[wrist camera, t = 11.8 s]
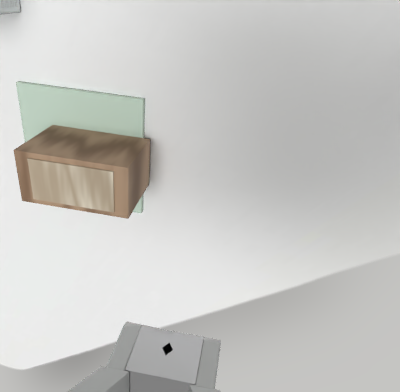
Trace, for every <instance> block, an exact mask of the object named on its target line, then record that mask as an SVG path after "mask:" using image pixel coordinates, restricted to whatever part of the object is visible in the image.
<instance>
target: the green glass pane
mask: <svg viewBox="0 0 400 392" xmlns="http://www.w3.org/2000/svg"><path fill="white" fill-rule="evenodd" d="M16 86H17V92H18V99H19V105H20V112H21V119H22V125H23V132H24V139H25V142H27V141H28V140H30V139H32V138H33V137H35V136H36V135H38V134H39V133H41V132H42V131H44V130H45V129H47V128H48V127H50V126H51V125H58V126H64V127H71V128H78V129H85V130H91V131H98V132H105V133H112V134H118V135H125V136H132V137H139V138H144V104H145V98H137V97H130V96H123V95H115V94H108V93H101V92H93V91H86V90H79V89H72V88H64V87H57V86H50V85H42V84H35V83H28V82H21V81H18V82H16ZM142 211H143V195H142V197H141V198H140V200H139V202H138V203H137V205H136V207H135V208H134V210H133V212H137V213H142Z"/></svg>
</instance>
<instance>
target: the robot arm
mask: <svg viewBox="0 0 400 392" xmlns="http://www.w3.org/2000/svg"><path fill="white" fill-rule="evenodd" d="M220 344H221V341H220V340H217V339H213V338H207V337H204V336H198V335H193V334H187V333H181V332H175V331H168V330H164V329H159V328H155V327H150V326H146V325H141V324H136V323H131V322H126V323H125V325H124V326H123V328H122V331H121V333H120V335H119V338H118V340H117V342H116V345H115V347H114V350H113V352H112V354H111V357H110V359H109V361H108V364H107V366H106V367H104V366H101V367H99V368H98V369H97V370H96V371H94V372H93V373H92V374H90V375H89V376H87V377H86V378H85V379H83V380H82V381H81V382H80V383H78V384H77V385H75V386H74V387H73V388H71V389H70V390H69V391H68V392H220V391H219V390H216V389H215V382H216V375H217V367H218V360H219V351H220Z"/></svg>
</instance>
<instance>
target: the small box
mask: <svg viewBox="0 0 400 392" xmlns="http://www.w3.org/2000/svg"><path fill="white" fill-rule="evenodd" d="M18 12H20V2H19V0H0V14H7V13H18Z"/></svg>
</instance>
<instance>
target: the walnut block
mask: <svg viewBox="0 0 400 392" xmlns="http://www.w3.org/2000/svg"><path fill="white" fill-rule="evenodd" d="M14 155H15V161H16V167H17V173H18V179H19V184H20V190H21V196H22V201H27V202H33V203H39V204H45V205H50V206H56V207H62V208H68V209H74V210H80V211H86V212H92V213H98V214H104V215H110V216H116V217H122V218H129V217H130V215H131V213H132V212H133V210H134V208H135V207H136V205H137V203H138V202H139V200H140V198H141V197H142V195H143V193H144V192H145V190H146V188H147V186H148V185H149V161H150V139H146V138H139V137H132V136H125V135H118V134H112V133H105V132H98V131H91V130H85V129H78V128H71V127H64V126H58V125H51V126H50V127H48V128H47V129H45V130H44V131H42V132H41V133H39V134H38V135H36V136H35V137H33V138H32V139H30V140H28V141H27V142H25V143H24V144H22V145H21V146H19V147H18V148H16V149H15V150H14Z"/></svg>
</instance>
